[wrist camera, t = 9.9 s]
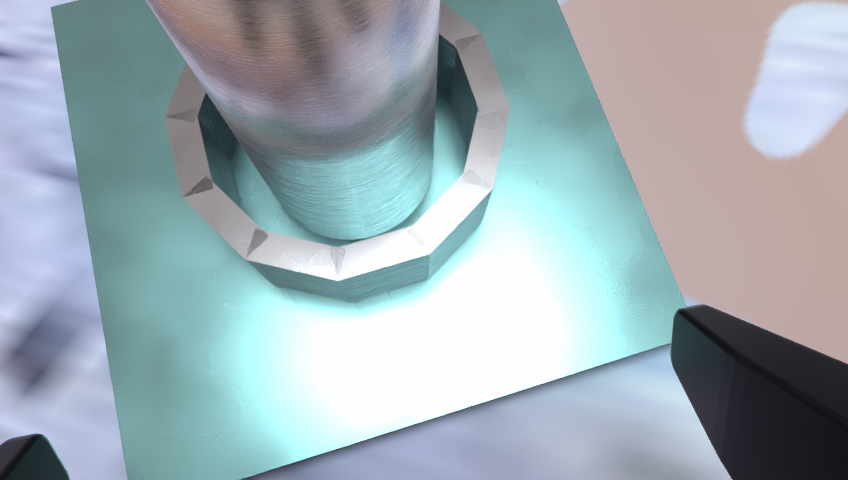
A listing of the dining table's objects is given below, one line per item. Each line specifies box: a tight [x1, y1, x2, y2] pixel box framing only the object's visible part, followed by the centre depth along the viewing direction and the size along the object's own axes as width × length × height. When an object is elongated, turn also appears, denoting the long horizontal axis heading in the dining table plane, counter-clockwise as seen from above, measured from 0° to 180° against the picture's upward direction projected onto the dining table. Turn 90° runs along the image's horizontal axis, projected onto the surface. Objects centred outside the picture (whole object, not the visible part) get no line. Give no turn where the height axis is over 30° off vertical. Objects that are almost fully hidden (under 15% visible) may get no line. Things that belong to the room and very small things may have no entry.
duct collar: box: [51, 0, 687, 480], centre depth 18 cm, size 16×16×4 cm
